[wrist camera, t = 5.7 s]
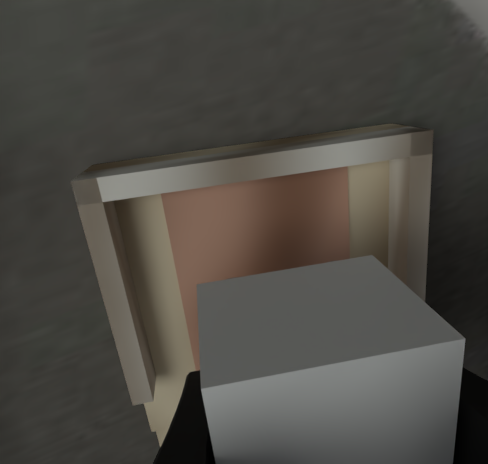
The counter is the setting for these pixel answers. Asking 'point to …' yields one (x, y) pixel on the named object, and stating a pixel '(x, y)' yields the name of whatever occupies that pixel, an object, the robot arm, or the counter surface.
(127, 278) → the dock
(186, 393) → the robot arm
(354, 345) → the grey ledged block
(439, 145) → the counter surface
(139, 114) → the counter surface
